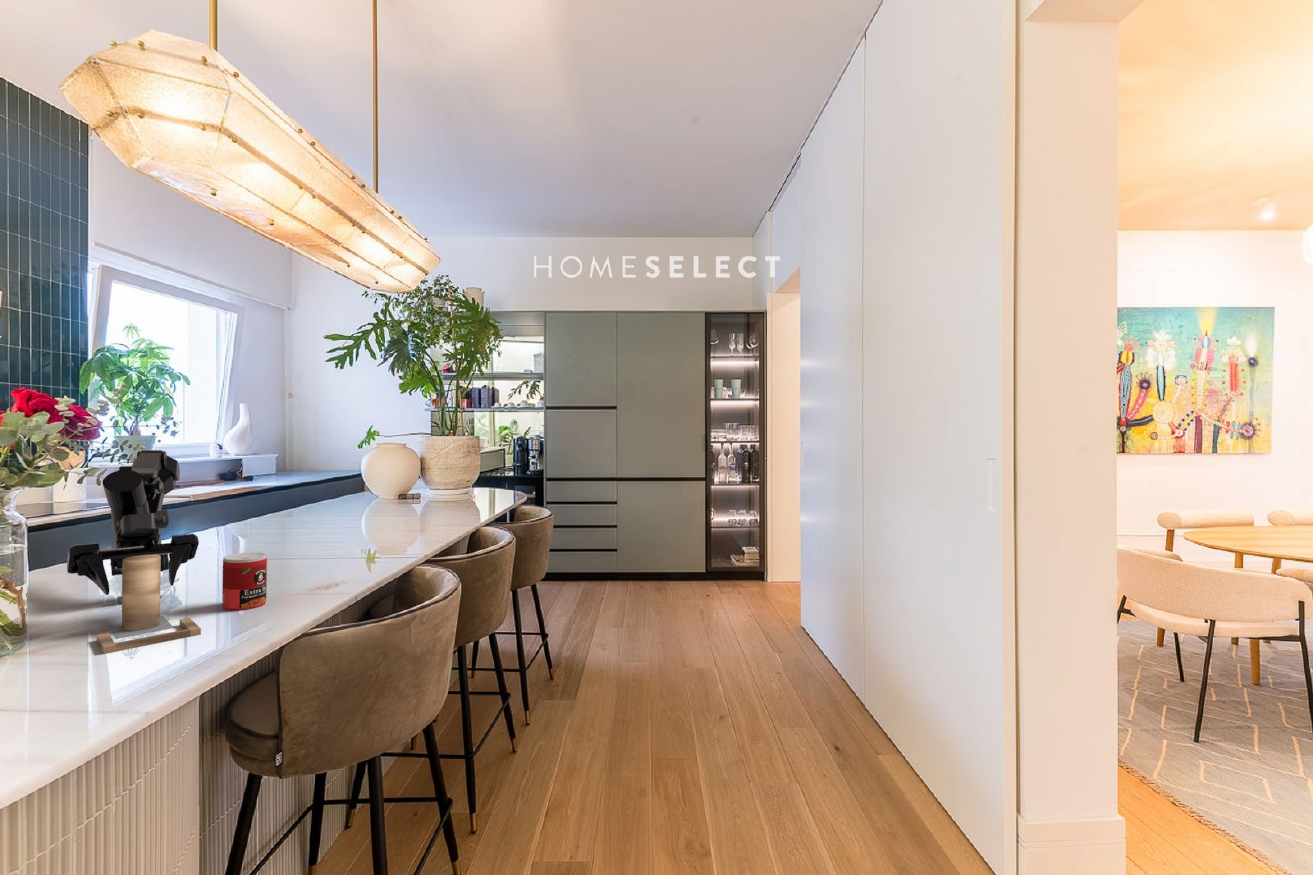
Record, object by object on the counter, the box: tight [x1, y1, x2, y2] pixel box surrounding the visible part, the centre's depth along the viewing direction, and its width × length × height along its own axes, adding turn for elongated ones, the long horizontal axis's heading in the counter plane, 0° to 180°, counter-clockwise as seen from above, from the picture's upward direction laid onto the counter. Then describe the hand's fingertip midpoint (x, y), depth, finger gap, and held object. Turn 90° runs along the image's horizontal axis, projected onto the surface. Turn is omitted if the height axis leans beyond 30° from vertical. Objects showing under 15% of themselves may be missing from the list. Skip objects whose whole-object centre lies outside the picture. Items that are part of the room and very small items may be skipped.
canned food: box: [221, 551, 268, 612], centre depth 124 cm, size 8×8×11 cm
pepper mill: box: [121, 555, 162, 631], centre depth 110 cm, size 5×5×13 cm
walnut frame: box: [96, 617, 202, 655], centre depth 105 cm, size 9×13×2 cm, turn 140°
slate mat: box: [108, 615, 175, 639], centre depth 110 cm, size 10×8×1 cm
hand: (141, 588), depth 110 cm, fingers open, 9 cm apart
